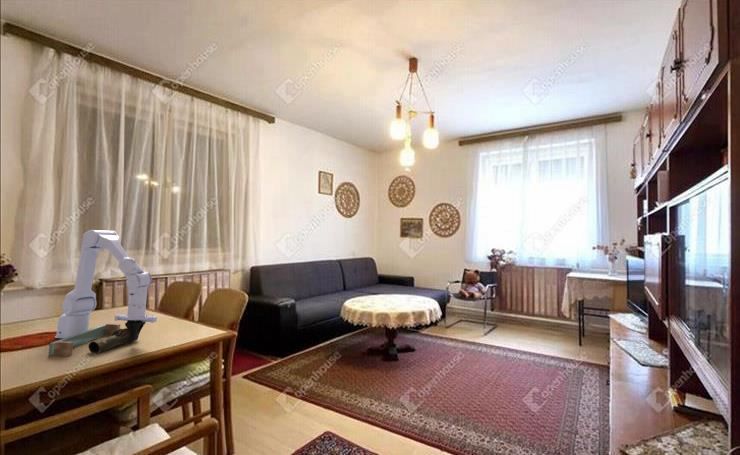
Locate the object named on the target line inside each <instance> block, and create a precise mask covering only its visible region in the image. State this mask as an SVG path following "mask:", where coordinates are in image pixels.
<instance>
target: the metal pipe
mask: <svg viewBox="0 0 740 455" xmlns="http://www.w3.org/2000/svg"><path fill="white" fill-rule="evenodd" d="M132 343H134V341H131V339H130V335H129V331H128V329H127V327H125V328H120V329H118V330H115V331H114V332H113V333H112V336H111V335H109V336H107V337H103V338H99V339H96V340H91V341H90V343H89V344H88V346H87V347H88V350H89V351H90V353H92V354H100V353H102V352H103V351H106V350H110V349H111V348H114V347H117V346H120V345H126V344H132Z"/></svg>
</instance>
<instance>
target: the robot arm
mask: <svg viewBox="0 0 740 455" xmlns="http://www.w3.org/2000/svg"><path fill="white" fill-rule="evenodd" d="M120 239H121V238H120V236H119V235H118V233H117V231H115V230H95V229H89V230H87V231H86V232H84V233H83V235H82V240H81V247H80V254H79V259H78V260H79V261H78V266H77V271H76V277H75V281H74V282H75V283H74V289H72V290H70V291H69V292H68V293H67V294H66V295H65V297H64V300H63V302H62V304H61V311H62V312H63V314H61V315H60V316H59V318H58V320H57V326H56V335H55V336H54V338H55V339H64V338H67V337H69V336H72V335H75V334H78V333H81V332H84V331H86V330H89V329H90V328H89V327H90V318H91V313H93V311H94V310H95V308H96V307H97V294H96V292H94V291H93V290H92V289H93V288H92V287H93V281H94V276H95V271H96V262H97V259H98V253H99V252H100V251H103V250H104V249H105V250H108V251H109V252H110V254H111V255H112V256H113V257H114V258H115V260H117V262H118V269H119V270H120V271H121V273H123V275H124V276H125V278H126V286H127V291H128V302H127V303H128V305H127V314H116V315H114V321H116V322H117V321H122V322H123V321H125V322H124V326H125V328H127V329H128V331H129V335H130V339H131V341H133V342H136V341H138V338H139V335H140V333H141V330H142V329H143V328H144V326H145V325H146V323H152V324H153V323H157V321H158V316H154V315H148V314H146V309H147V298H148V297H147V296H148V287H150V286H151V284H152V282H153V278H152V275H151V273H150V272H148V271H145V270H143V268H141V266H140V265H139V264H138V262H137V260H136V259H135V258H133V257H129V255H128V254H127V252H126V251H125V249H124V248H123V246H122V244H121V242H120Z"/></svg>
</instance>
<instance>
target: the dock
mask: <svg viewBox="0 0 740 455" xmlns="http://www.w3.org/2000/svg"><path fill="white" fill-rule="evenodd" d="M118 329H121V323H110V322H108V323H104V324H100V325H99V326H95V327H92V328H89V329H88V330H86V331H84V332H81V333H78V334H75V335H72V336H69V337H67V338H60V339H59V340H55V341H53V342H50V343H49V348H48V355H49V356H53V355H54V357H70V356H72V355H73V348H75V347H76V348H77V347H78V346H81V345H83V344H86V343H88V342H92V341H95V339H96V340H97V339H98V338H99V339H100V338H101V337H103V336H112V333H113V332H114V331H115V330H118Z"/></svg>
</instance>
